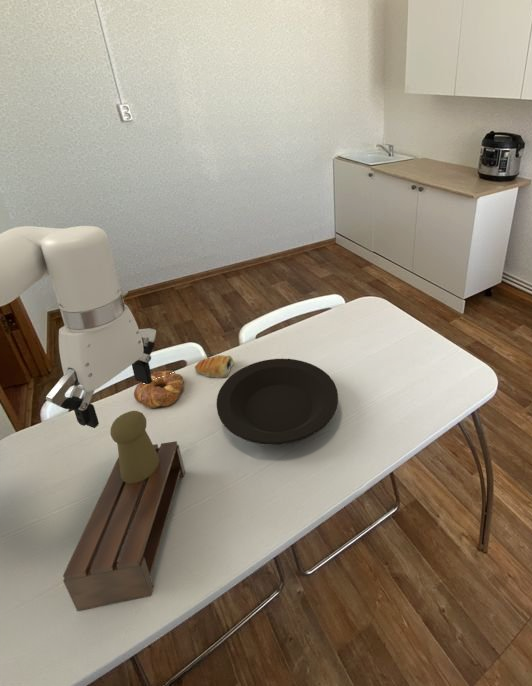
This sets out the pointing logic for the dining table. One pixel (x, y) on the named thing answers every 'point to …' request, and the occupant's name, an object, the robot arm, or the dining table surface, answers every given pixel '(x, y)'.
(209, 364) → the pastry
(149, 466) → the olive green shaker
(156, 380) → the ring bread
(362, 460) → the dining table surface
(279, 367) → the plate
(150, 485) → the rack
